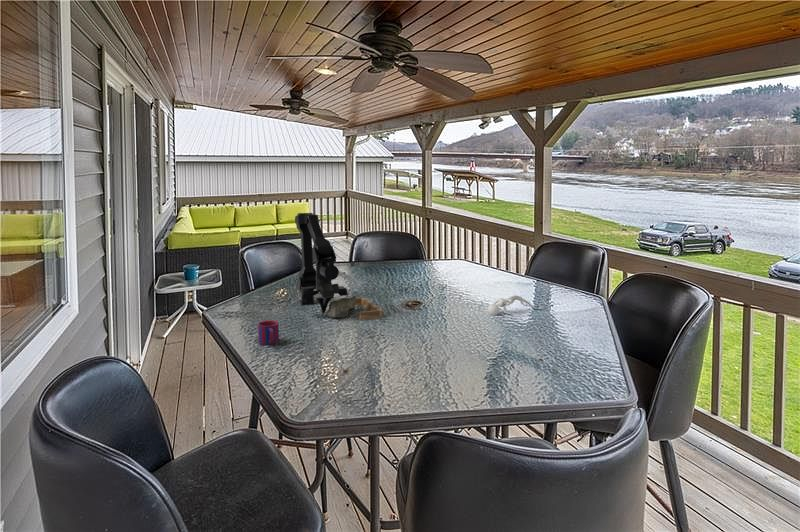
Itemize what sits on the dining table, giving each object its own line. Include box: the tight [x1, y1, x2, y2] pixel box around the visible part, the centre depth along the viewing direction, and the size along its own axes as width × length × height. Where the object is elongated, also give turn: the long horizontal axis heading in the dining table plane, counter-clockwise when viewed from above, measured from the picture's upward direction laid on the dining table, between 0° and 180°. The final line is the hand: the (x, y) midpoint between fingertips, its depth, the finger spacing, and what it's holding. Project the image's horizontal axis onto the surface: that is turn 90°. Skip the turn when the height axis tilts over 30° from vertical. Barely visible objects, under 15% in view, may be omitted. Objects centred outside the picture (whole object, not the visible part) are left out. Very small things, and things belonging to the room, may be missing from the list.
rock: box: [326, 295, 357, 318], centre depth 210 cm, size 17×7×10 cm
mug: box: [257, 320, 280, 346], centre depth 173 cm, size 7×10×7 cm
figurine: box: [487, 295, 542, 316], centre depth 219 cm, size 9×10×25 cm
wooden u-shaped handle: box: [355, 297, 383, 321], centre depth 215 cm, size 23×10×3 cm, turn 24°
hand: (323, 313), depth 209 cm, fingers closed
